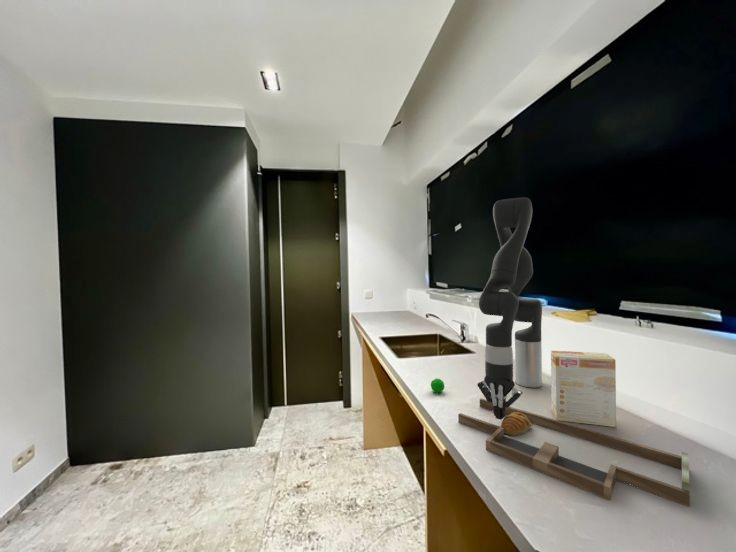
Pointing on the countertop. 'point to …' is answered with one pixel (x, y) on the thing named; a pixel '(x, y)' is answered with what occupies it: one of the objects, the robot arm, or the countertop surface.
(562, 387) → the coffeecake box
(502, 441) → the mats
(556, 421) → the lane
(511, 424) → the pastry
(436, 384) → the polyhedron
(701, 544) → the countertop surface
